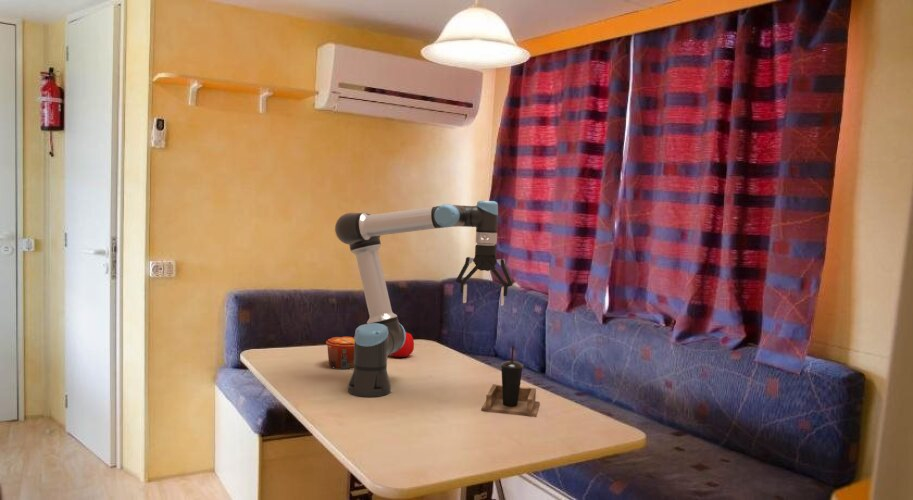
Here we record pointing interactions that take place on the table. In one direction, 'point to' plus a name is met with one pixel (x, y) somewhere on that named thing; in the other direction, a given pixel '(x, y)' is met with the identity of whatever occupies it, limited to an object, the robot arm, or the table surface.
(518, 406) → the u rest
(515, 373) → the drinking cup
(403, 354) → the tomato
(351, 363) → the food container
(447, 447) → the table surface
